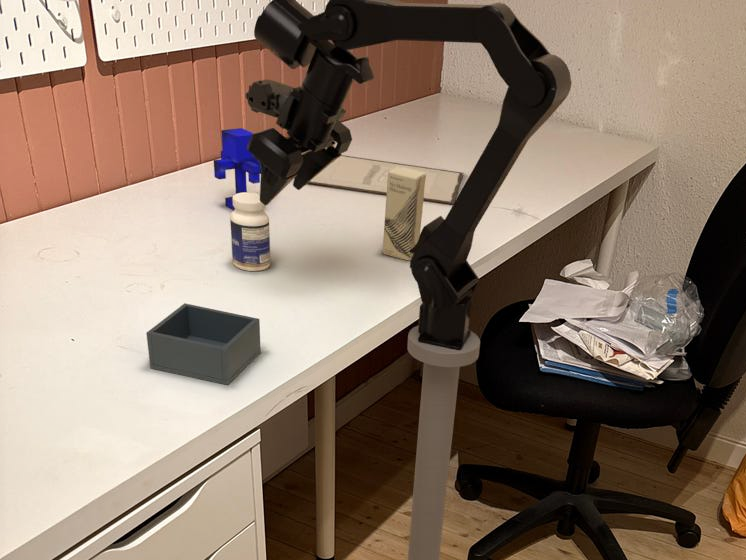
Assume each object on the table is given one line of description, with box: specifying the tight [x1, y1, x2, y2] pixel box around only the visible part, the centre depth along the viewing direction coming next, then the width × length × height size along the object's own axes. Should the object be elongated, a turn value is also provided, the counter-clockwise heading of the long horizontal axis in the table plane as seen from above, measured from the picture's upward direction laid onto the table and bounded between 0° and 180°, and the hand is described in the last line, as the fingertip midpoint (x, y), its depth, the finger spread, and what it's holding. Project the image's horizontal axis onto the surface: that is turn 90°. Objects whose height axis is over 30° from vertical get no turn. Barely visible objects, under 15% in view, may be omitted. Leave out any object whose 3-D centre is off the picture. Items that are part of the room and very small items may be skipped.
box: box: [382, 166, 426, 261], centre depth 154 cm, size 5×4×13 cm
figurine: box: [213, 127, 261, 211], centre depth 162 cm, size 8×8×12 cm
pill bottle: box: [229, 191, 271, 272], centre depth 144 cm, size 6×6×10 cm
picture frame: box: [307, 154, 465, 205], centre depth 189 cm, size 22×1×30 cm
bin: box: [146, 302, 261, 386], centre depth 120 cm, size 10×10×5 cm
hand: (280, 195), depth 135 cm, fingers open, 9 cm apart
